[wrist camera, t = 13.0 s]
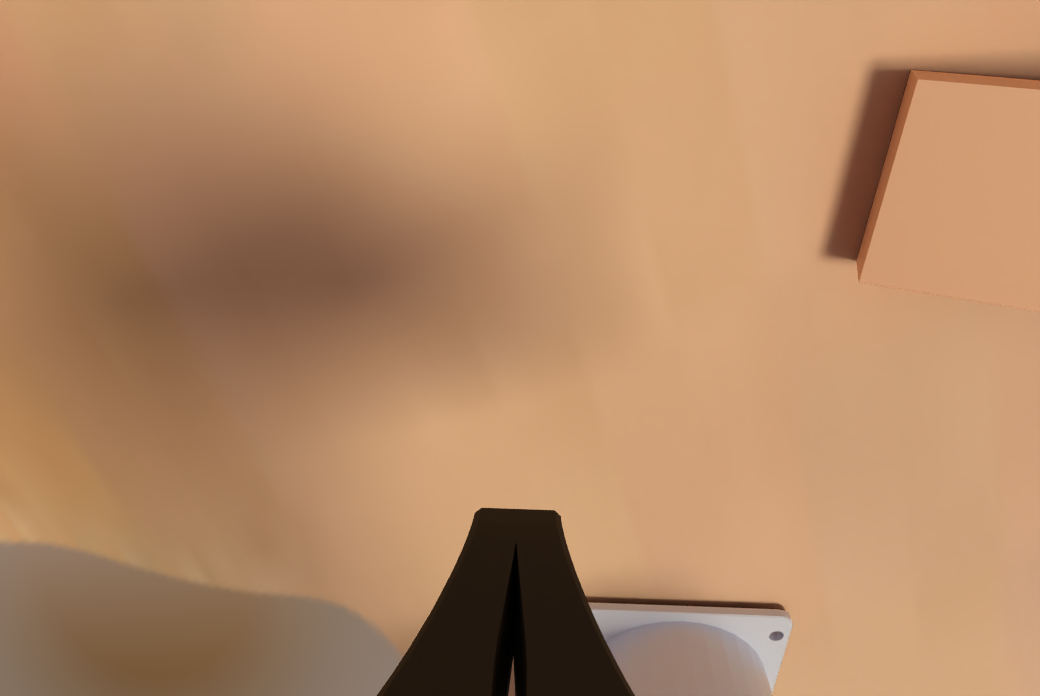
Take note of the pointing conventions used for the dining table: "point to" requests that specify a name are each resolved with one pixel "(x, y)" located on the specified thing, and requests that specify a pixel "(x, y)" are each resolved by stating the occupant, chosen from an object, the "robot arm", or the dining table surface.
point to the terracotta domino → (960, 192)
